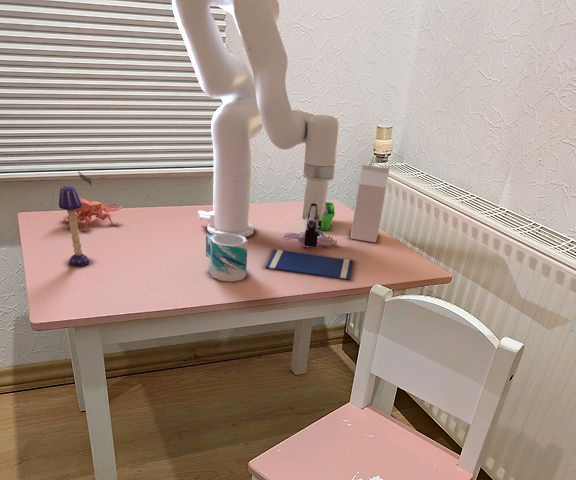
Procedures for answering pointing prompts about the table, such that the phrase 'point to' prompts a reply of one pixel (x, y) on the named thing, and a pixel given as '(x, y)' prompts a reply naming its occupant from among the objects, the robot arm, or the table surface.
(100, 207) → the beetle
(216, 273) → the mug
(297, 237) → the rabbit figure
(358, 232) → the milk carton
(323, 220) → the fruit basket
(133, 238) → the table surface
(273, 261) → the cloth
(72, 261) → the toy lamp
